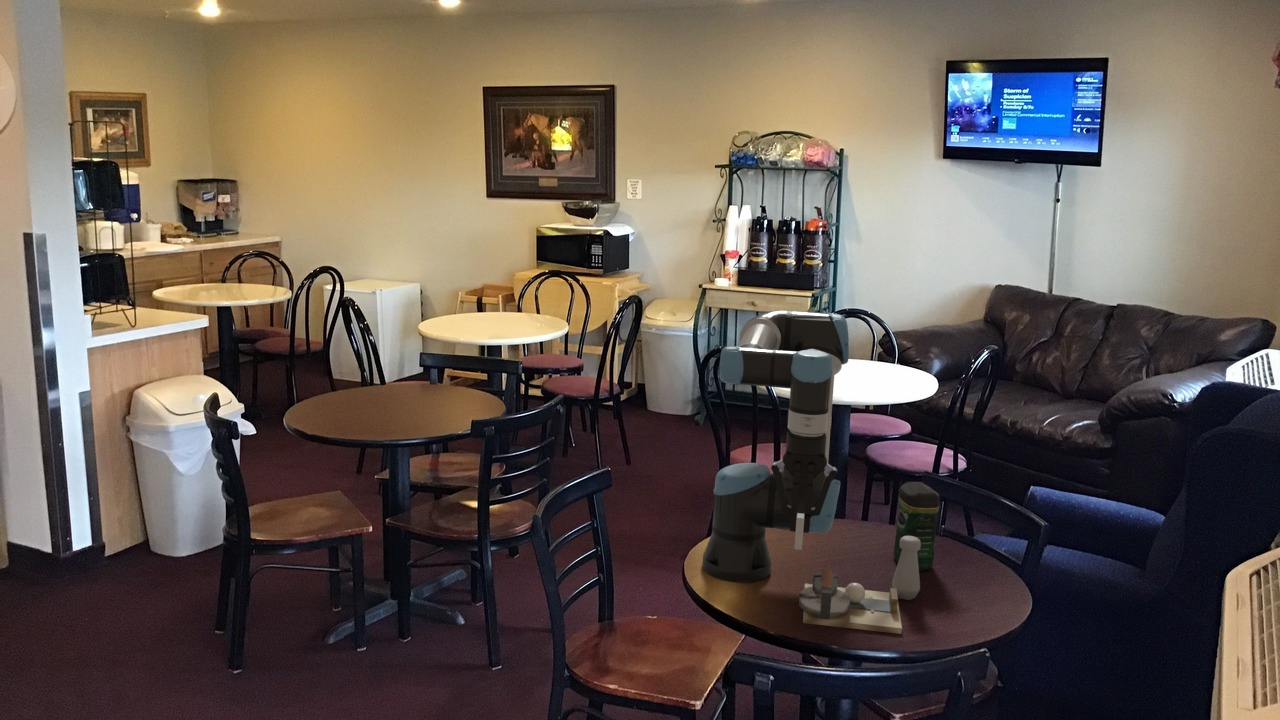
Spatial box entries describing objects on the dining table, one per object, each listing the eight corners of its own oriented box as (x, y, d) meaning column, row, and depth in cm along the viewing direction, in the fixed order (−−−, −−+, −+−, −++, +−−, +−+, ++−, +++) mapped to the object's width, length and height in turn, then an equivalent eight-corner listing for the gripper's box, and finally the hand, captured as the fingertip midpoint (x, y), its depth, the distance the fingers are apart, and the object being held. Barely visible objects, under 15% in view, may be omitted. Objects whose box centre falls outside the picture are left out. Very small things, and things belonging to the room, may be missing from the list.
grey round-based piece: (797, 625, 202) (800, 590, 200) (799, 590, 217) (802, 557, 216) (850, 631, 200) (853, 595, 198) (848, 595, 216) (851, 562, 214)
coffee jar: (937, 571, 233) (946, 493, 229) (903, 572, 232) (911, 493, 228) (921, 554, 242) (929, 478, 238) (888, 555, 241) (895, 478, 237)
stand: (802, 622, 206) (804, 603, 205) (804, 588, 222) (805, 570, 221) (901, 633, 203) (903, 614, 202) (896, 598, 219) (897, 580, 218)
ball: (844, 604, 211) (846, 586, 211) (844, 596, 215) (845, 578, 214) (864, 607, 211) (866, 588, 210) (863, 598, 215) (865, 580, 214)
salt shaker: (898, 587, 224) (904, 530, 221) (923, 595, 221) (929, 537, 218) (886, 595, 220) (891, 538, 217) (911, 604, 216) (917, 545, 213)
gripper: (771, 433, 198) (763, 550, 203) (841, 439, 196) (831, 557, 201) (773, 423, 205) (766, 536, 210) (841, 429, 203) (831, 543, 208)
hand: (798, 546), depth 205 cm, fingers closed
